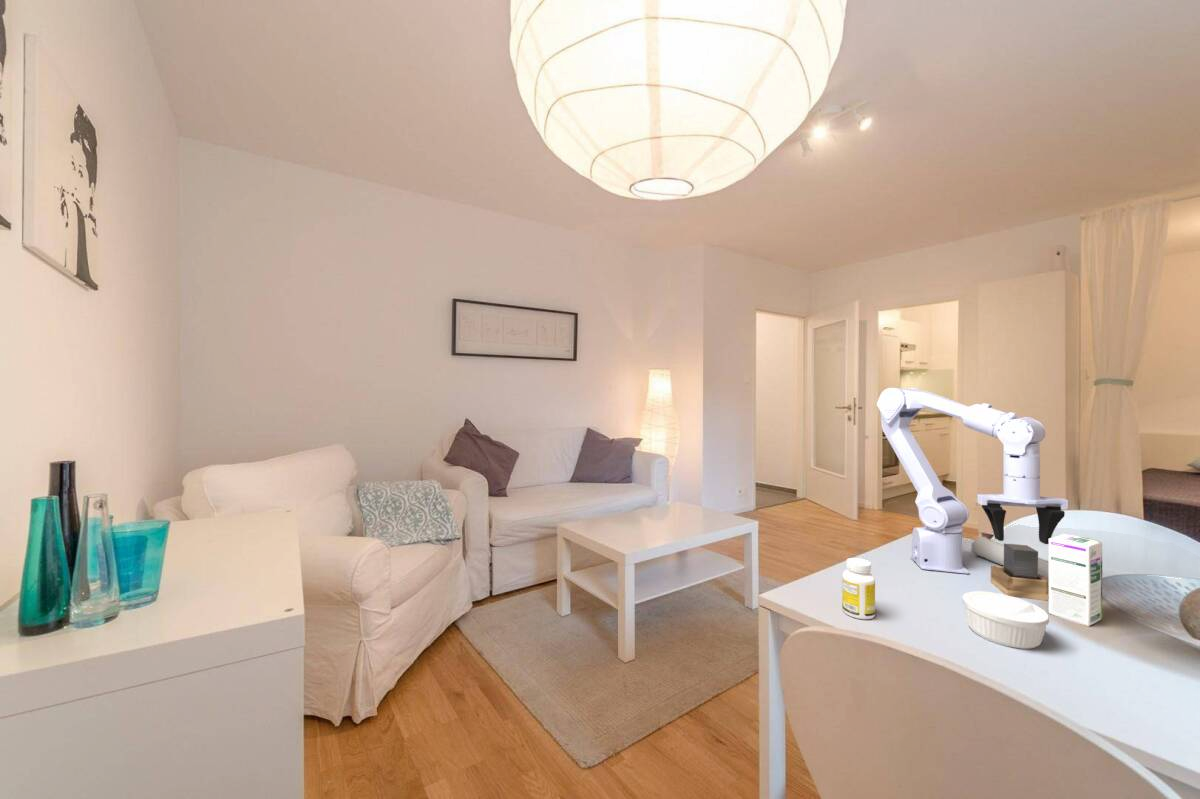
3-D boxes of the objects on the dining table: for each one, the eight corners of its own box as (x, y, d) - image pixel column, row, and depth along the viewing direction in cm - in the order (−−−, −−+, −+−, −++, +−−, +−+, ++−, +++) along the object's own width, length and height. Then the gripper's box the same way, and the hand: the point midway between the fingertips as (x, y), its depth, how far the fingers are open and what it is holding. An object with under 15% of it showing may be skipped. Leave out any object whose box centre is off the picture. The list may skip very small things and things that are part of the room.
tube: (1107, 581, 94) (993, 539, 119) (1084, 573, 94) (974, 533, 118) (1098, 606, 94) (986, 559, 119) (1075, 598, 94) (967, 553, 119)
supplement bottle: (871, 609, 90) (872, 558, 90) (878, 622, 85) (878, 568, 85) (840, 604, 92) (840, 555, 92) (844, 617, 87) (845, 565, 86)
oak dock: (1007, 596, 96) (1007, 577, 96) (990, 582, 102) (990, 565, 102) (1051, 600, 94) (1051, 582, 93) (1030, 586, 100) (1031, 569, 100)
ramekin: (1057, 661, 73) (1057, 627, 73) (966, 641, 79) (967, 610, 79) (1038, 629, 83) (1039, 600, 82) (958, 613, 88) (959, 586, 88)
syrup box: (1090, 627, 83) (1092, 546, 83) (1046, 613, 88) (1048, 536, 88) (1102, 620, 86) (1104, 541, 85) (1059, 606, 91) (1061, 532, 91)
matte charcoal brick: (1013, 588, 97) (1013, 549, 96) (1003, 580, 100) (1004, 543, 100) (1037, 590, 95) (1038, 551, 95) (1026, 583, 99) (1027, 545, 99)
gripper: (988, 477, 96) (988, 543, 96) (1078, 481, 92) (1078, 550, 92) (973, 472, 103) (973, 534, 103) (1056, 475, 99) (1056, 539, 99)
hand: (1021, 541), depth 98 cm, fingers open, 7 cm apart
